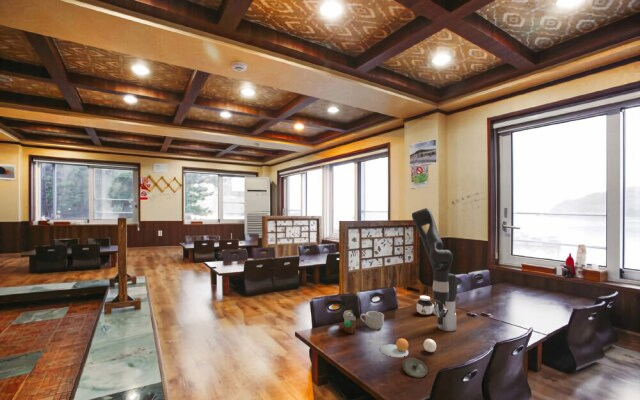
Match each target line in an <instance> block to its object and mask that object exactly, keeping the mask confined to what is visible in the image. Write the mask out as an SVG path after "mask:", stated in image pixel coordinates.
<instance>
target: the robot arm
mask: <svg viewBox="0 0 640 400" xmlns="http://www.w3.org/2000/svg"><path fill="white" fill-rule="evenodd" d="M411 218H412V221H413V224H414V225H415V227H416V229H417V232H418V233H419V236H420V239H421V241H422V244H423V246H424V250H425V252H426V255H427V257H428V259H429V262H430V264H431V267H432V272H433V282H432V299H434V300H435V301H434V302H432V304H434V309H435V313H436V314H435V315H436V318H437V319H436V321H437V325H438V326H437V327H438V329H440V330H442V331H446V332H454V331H457V316H458V315H457V313H456V298H457V295H458V281H459V280H458V277H457V275H456V274H453V273H450V269H451V266H452V263H453V256H454V255H453V253H452V252H451V250H449V249H444V243H443V241H442V238H441V236H440V234H439V231H438V228H437V225H436V221H435V219H434V216H433V213H432V211H431V209H430V208H428V207H426V208H422V209H420V210H417V211H414V212H412V213H411ZM427 225H429V226H428V229H427V231H426V230H425V229H424V228H423V226H427Z"/></svg>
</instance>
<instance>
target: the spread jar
mask: <svg viewBox="0 0 640 400" xmlns="http://www.w3.org/2000/svg"><path fill="white" fill-rule="evenodd" d="M416 312H417V313H418V314H419V315H421V316H423V315H424V317H429V316H431V315H432V314H433V315H437V314H436V313H435V309H434V304H433V302H432V301H431V297H430V296H429V295H428V296H427V295H420V296H419V299H418V300H417V302H416Z"/></svg>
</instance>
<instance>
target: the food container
mask: <svg viewBox="0 0 640 400" xmlns="http://www.w3.org/2000/svg"><path fill="white" fill-rule="evenodd" d="M342 317H343V319H344V321H343V323H344V332H345V333H347V334H353V335H356V322H357V317H356V316H355V315H354V313H353V309H349V310H345V311H344V312H343V315H342Z"/></svg>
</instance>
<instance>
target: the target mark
mask: <svg viewBox="0 0 640 400" xmlns="http://www.w3.org/2000/svg"><path fill="white" fill-rule="evenodd" d="M379 351H380V352H381V353H382V354H384V355H385V356H387V357H390V356H391V357H392V358H405V357H407V356H408V355H409V350H408V349H407V350H406V351H400V350H398V349H397V347H396V344H393V343H389V344H383V345H381V346H380V347H379ZM404 356H405V357H404Z"/></svg>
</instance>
